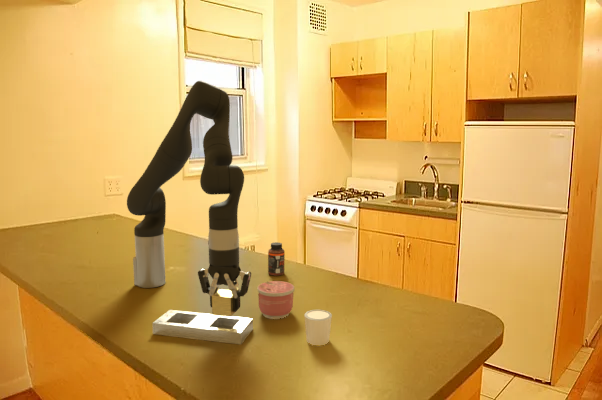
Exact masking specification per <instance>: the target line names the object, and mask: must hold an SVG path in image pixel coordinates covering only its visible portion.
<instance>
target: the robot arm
mask: <svg viewBox="0 0 602 400" xmlns="http://www.w3.org/2000/svg"><path fill="white" fill-rule="evenodd" d="M229 96H230V95H228V92H226V91H225V90H223V89H221V88H220V87H217V86H215V85H213V84H210V83H209V82H206V81H204V80H197V81H196V82H194V84H193V85H192V86H191V88H190V89H189V91H188V93H187V95H186V98H184V99H185V100H183V103H182V106H181V107H180V109H179V112H178V114H177V116H176V118H175V120H174V121H173V123H172V125H171V127H170V129H169V130H168V132H167V134H166V135H165V136H164V137H163V140H162V141H161V143H160V144H159V146H158V148H157V150H156V152H155V153H154V155H153V157H152V159H151V161H150V162H149V164H148V165H147V167H146V168H145V170H144V171H143V173H142V174H141V176H140V177H139V179H138V180H137V181H136V183H135V184H134V185H133V186H132V188H131V189H130V191H129V193H128V195H127V199H126V208H127V210H128V211H129V213H131V215H134V216H144V218H143V219H142V220H141V221H140V222H139V223H137V224H136V225H135V227H134V229H133V233H134V248H135V249H134V250H135V256H134V257H133V258H132V264H133V283H134V286H137V287H139V288H144V289H150V288H157V287H161V286H163V285H165V284H166V264H165V263H166V262H165V261H166V260H165V255H166V254H165V237H164V236H165V235H164V230H165V229H164V228H165V226H166V215H167V214H166V211H167V210H166V207H167V206H166V205H167V203H166V202H167V201H166V196H165V193H164V191H163V189H162V188H161V187H162V186H163V185H165V183H167V182H169V180H171V179H173V177H175V176H177V174H179V172H180V171H181V170H182V169H183V168H184V167H185V165H186V163H187V162H188V160H189V159H190V157H191V155H192V152H193V141H192V136H191V123H192V119H193V117H194V115H198V116H202V117H203V118H207V119H209V120H212V122H213V123H214V124H213V125H212V126H211V127H210V128H209V129H208V130H207V131H206V133H205V134H204V136H203V141H202V144H203V145H202V146H203V147H202V148H203V154H204V155H203V156H204V162H203V163H204V164H203V167H202V169H201V170H202V171H201V174H200V179H199V182H200V187H201V189H202V191H203V192H204V193H205V194H207V195H215V196H216V195H228V197H227V198H226V199H225V200H224V201H221V202H217V203H214V204H213V203H212V205H210V206H209V208H208V236H207V237H208V238H207V239H208V241H207V244H208V265H209V266H208V268H204V267H203V268H201V269H200V270H198V272H197V276H198V279H199V283H200V287H201V291H202V293H203V294H208V295H209V305H210V308H212V295H213V294H215V293H216V292H217V291H218V290H219V287H220V286H222V285H224V286H226V287H227V286H228V290H231V292H232V295H233V297H234V298H233V312H235V313H236V312H238V310H239V309H240V308H241V297H244V296H245V295H246V294H247V293H248V292H249V291H248V290H249V287H250V282H251V278H252V272H251V271H243V270H242V269H241V267H240V237H239V236H240V235H239V228H238V225H239V224H238V221H239V220H238V212H239V210H238V208H239V202H240V198H241V195H242V191H243V187H244V183H245V174H244V171H243V169H242V168H241V167H240V166H239V165H234V164H233V165H231V164H232V162H233V150H232V147H231V142H230V134H229V133H230V132H229V131H230V109H231V108H230V106H231V105H230V104H231V103H230V97H229ZM209 276H210V277H211V279H212V280H211V281H212V282H211V284H210V280H209ZM239 276H240V279H241V281H242V282H241V285H240V286H241V287H240V286H239V281H238V278H239Z"/></svg>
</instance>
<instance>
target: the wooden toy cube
mask: <svg viewBox="0 0 602 400" xmlns="http://www.w3.org/2000/svg"><path fill="white" fill-rule="evenodd" d="M233 298H234V297H233V295H232V292H231V290H230V289H223V288H221V289H220V288H218V290H217V292H216V293H215V294H213V295H212V307H211V314H212V315H219V316H229V317H231V316H234V314H235V313H236V312H233Z"/></svg>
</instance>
